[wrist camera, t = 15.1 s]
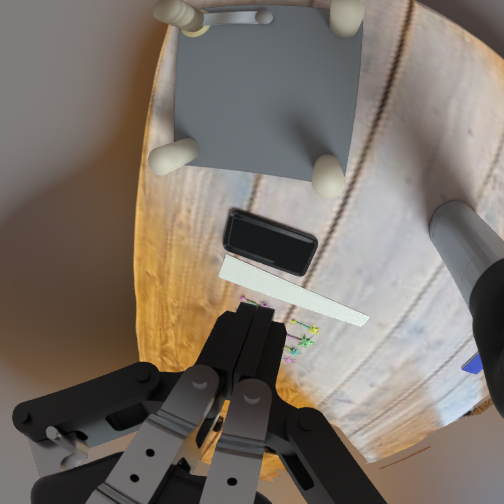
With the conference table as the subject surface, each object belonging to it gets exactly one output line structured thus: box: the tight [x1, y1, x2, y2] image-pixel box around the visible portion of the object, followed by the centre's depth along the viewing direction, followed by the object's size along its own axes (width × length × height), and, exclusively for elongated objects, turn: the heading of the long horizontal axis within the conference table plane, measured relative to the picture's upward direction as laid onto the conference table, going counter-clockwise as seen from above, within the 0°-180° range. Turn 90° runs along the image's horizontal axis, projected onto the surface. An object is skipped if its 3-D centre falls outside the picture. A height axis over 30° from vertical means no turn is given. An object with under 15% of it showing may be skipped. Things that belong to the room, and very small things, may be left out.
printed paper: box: [218, 254, 370, 365], centre depth 57 cm, size 30×30×2 cm
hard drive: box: [461, 351, 483, 374], centre depth 46 cm, size 2×8×12 cm
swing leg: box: [153, 0, 274, 32], centre depth 22 cm, size 13×4×8 cm, turn 85°
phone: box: [223, 210, 318, 277], centre depth 46 cm, size 8×1×15 cm
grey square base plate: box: [148, 0, 366, 199], centre depth 28 cm, size 25×25×11 cm
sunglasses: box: [213, 418, 224, 432], centre depth 89 cm, size 10×12×5 cm
